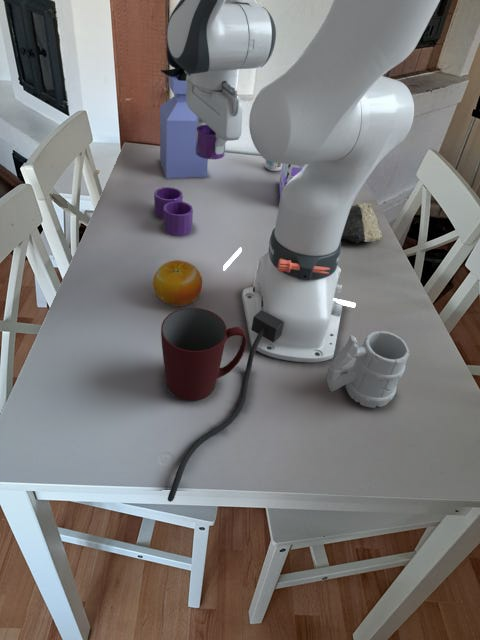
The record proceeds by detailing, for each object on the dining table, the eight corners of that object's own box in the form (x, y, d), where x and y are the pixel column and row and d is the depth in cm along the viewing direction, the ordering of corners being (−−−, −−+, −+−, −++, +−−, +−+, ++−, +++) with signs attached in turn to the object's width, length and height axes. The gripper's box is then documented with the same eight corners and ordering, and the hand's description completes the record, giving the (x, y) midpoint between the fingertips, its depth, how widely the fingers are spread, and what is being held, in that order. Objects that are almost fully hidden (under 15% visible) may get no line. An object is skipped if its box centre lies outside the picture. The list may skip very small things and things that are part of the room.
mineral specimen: (393, 224, 103) (332, 222, 98) (380, 252, 107) (321, 251, 103) (368, 195, 111) (311, 192, 107) (357, 222, 116) (302, 220, 112)
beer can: (281, 166, 135) (288, 123, 127) (280, 173, 131) (288, 129, 123) (265, 164, 135) (271, 121, 127) (264, 170, 131) (270, 127, 124)
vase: (207, 158, 133) (216, 14, 110) (217, 176, 125) (229, 24, 102) (157, 159, 130) (155, 9, 107) (164, 178, 121) (163, 20, 98)
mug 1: (234, 357, 76) (242, 305, 69) (245, 400, 69) (255, 348, 62) (159, 362, 73) (158, 308, 66) (163, 408, 67) (163, 354, 60)
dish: (189, 237, 101) (190, 217, 98) (161, 233, 101) (160, 213, 98) (193, 223, 106) (194, 203, 103) (166, 219, 106) (166, 199, 103)
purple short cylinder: (223, 161, 98) (225, 137, 95) (193, 157, 98) (194, 133, 95) (225, 149, 103) (227, 126, 100) (197, 146, 103) (198, 122, 100)
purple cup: (179, 222, 106) (179, 201, 102) (152, 218, 106) (151, 198, 102) (184, 208, 110) (184, 189, 107) (157, 205, 110) (157, 185, 107)
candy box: (304, 210, 116) (318, 144, 105) (280, 208, 116) (292, 141, 105) (299, 185, 127) (312, 123, 116) (278, 183, 126) (288, 120, 115)
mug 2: (401, 407, 72) (430, 352, 64) (328, 415, 69) (350, 358, 61) (380, 370, 77) (404, 315, 69) (312, 376, 74) (329, 320, 67)
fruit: (137, 276, 83) (162, 250, 79) (173, 274, 90) (197, 250, 85) (156, 317, 81) (183, 293, 77) (191, 312, 88) (217, 290, 83)
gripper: (254, 90, 85) (245, 164, 94) (209, 60, 98) (205, 127, 107) (222, 91, 82) (217, 167, 92) (181, 60, 96) (179, 129, 105)
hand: (210, 145), depth 99 cm, fingers closed on purple short cylinder, 6 cm apart
